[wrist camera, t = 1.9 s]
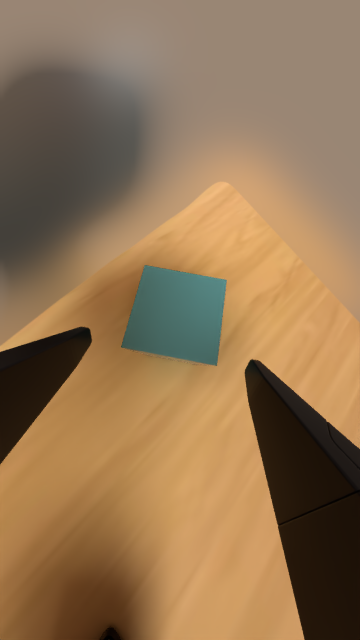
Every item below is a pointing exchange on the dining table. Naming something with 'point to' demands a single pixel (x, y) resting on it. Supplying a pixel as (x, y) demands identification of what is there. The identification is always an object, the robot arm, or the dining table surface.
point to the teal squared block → (177, 316)
